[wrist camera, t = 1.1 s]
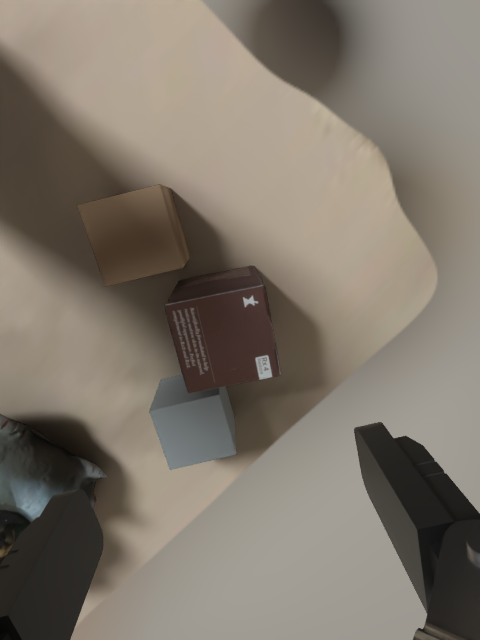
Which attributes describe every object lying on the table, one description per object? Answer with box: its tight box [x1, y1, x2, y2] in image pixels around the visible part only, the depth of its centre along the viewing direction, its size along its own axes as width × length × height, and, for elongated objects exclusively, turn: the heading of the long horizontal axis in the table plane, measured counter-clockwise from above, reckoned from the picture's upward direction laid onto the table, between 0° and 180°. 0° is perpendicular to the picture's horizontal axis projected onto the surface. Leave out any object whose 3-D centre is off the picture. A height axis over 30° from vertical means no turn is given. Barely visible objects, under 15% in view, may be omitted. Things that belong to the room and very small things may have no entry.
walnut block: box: [77, 184, 190, 287], centre depth 25 cm, size 5×5×5 cm
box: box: [165, 266, 281, 393], centre depth 26 cm, size 6×6×7 cm
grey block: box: [149, 375, 236, 470], centre depth 29 cm, size 5×5×5 cm
